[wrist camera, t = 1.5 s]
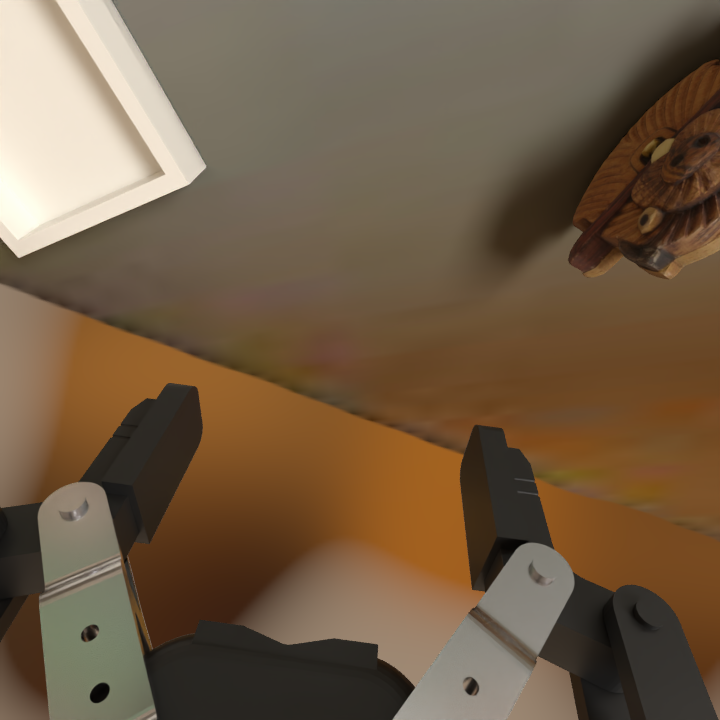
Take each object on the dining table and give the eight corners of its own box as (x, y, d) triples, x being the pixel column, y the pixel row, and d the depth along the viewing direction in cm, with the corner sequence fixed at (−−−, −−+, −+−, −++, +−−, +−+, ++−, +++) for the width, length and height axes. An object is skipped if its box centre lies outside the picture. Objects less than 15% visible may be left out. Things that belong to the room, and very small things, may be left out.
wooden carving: (757, -55, 23) (946, -75, 15) (817, -2, 24) (1021, 5, 16) (534, 227, 32) (580, 304, 25) (584, 256, 34) (643, 338, 26)
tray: (-137, 18, 27) (-197, 22, 24) (47, -111, 23) (2, -124, 20) (47, 236, 35) (18, 257, 32) (206, 166, 31) (189, 184, 28)
